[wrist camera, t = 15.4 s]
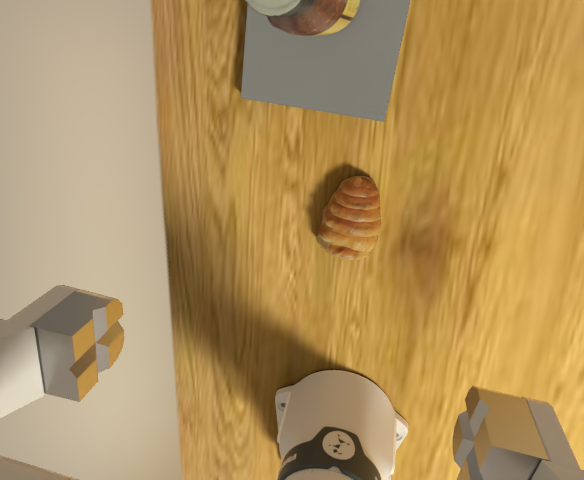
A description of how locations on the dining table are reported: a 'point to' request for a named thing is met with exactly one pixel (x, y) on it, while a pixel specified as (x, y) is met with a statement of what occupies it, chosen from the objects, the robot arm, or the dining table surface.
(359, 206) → the pastry
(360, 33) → the serving board
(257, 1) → the sauce bottle
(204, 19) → the dining table surface
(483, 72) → the dining table surface
